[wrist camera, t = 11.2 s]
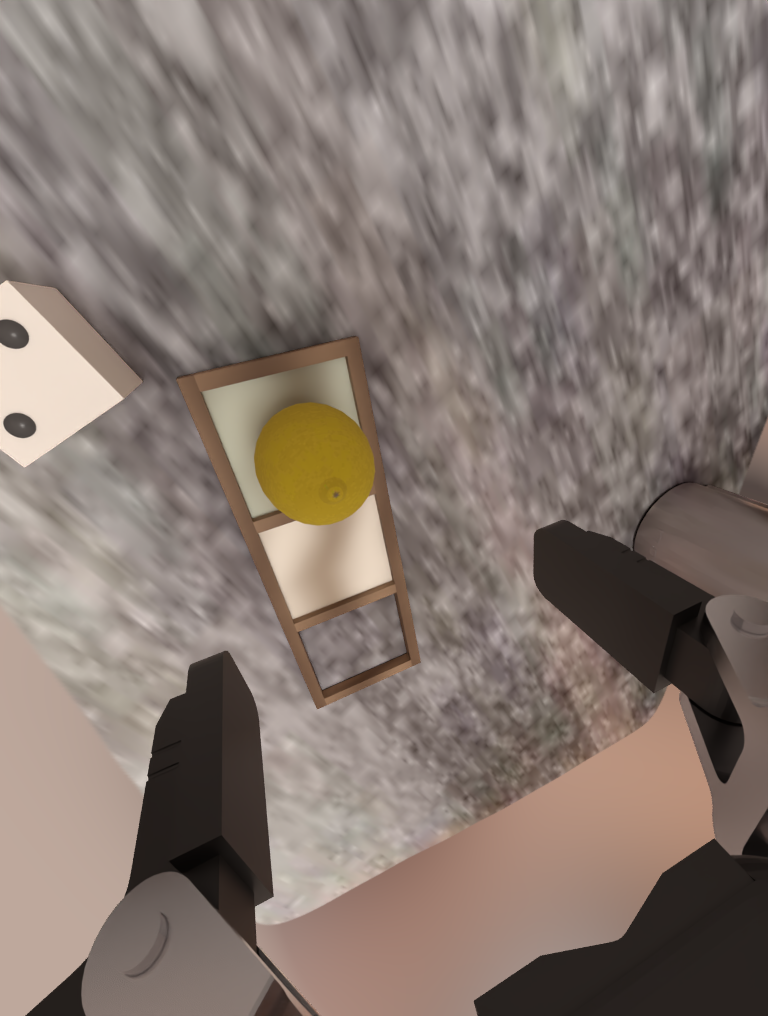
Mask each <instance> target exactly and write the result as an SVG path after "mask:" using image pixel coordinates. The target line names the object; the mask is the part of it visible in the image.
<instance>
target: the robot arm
mask: <svg viewBox="0 0 768 1016" xmlns="http://www.w3.org/2000/svg"><path fill="white" fill-rule="evenodd" d="M634 550H635V551H631V550H630V548H629V547H627V546H625V545H623V544H622V543H620V542H618V541H616V540H615V539H613V538H611V537H608V536H604V535H601V534H598V533H594V532H591V531H587V532H586V531H584V530H583V529H581V528H579V527H577V526H576V525H574V524H572V523H571V522H569V521H566V520H561V521H558V522H556V523H553V524H551V525H548V526H546V527H543V528H540V529H538V530H537V531H536V532H535V534H534V570H533V574H534V580H535V583H536V586H537V588H538V589H539V591H540V592H541V594H542V595H543V596H544V597H545V598H546V599H547V600H548V601H549V602H551V603H552V604H553V605H554V606H555V607H556V608H557V609H559V610H560V611H561V612H562V613H563V614H564V615H565V616H567V617H568V618H569V619H570V620H571V621H572V622H573V623H575V624H576V625H577V626H578V627H579V628H580V629H581V630H582V631H584V632H585V633H586V634H587V635H588V636H589V637H590V638H592V639H593V640H594V641H595V642H596V643H597V644H598V645H600V646H601V647H602V648H603V649H604V650H605V651H606V652H607V653H609V654H610V655H611V656H612V657H613V658H614V659H615V660H617V661H618V662H619V663H620V664H621V665H622V666H623V667H625V668H626V669H627V670H628V671H629V672H630V673H631V674H633V675H634V676H635V677H636V678H637V679H638V680H639V681H640V682H642V683H643V684H644V685H645V686H646V687H647V688H648V689H650V690H651V691H652V692H653V693H655V692H657V691H659V690H661V689H663V688H664V687H666V686H668V685H670V684H673V685H674V686H676V687H677V688H678V689H679V690H680V694H679V700H680V704H681V707H682V710H683V712H684V716H685V718H686V721H687V724H688V727H689V730H690V733H691V736H692V738H693V741H694V744H695V747H696V750H697V753H698V756H699V759H700V762H701V764H702V767H703V770H704V773H705V776H706V779H707V782H708V785H709V788H710V791H711V796H712V804H713V812H712V816H713V827H714V833H715V838H716V840H715V839H713V840H711V841H710V842H708V843H707V844H705V845H704V846H702V847H701V848H699V849H698V850H696V851H695V852H693V853H692V854H690V855H689V856H688V857H686V858H684V859H683V860H682V861H680V862H678V863H677V864H676V865H674V866H673V867H671V868H670V869H668V870H667V871H665V872H664V873H662V875H661V876H660V878H659V880H658V881H657V883H656V885H655V886H654V888H653V890H652V891H651V893H650V894H649V896H648V898H647V899H646V901H645V903H644V904H643V906H642V908H641V909H640V911H639V912H638V914H637V916H636V917H635V919H634V921H633V922H632V924H631V925H630V927H629V928H628V930H627V932H626V933H625V934H624V936H623V937H622V938H620V939H619V940H617V941H614V942H609V943H604V944H599V945H594V946H589V947H583V948H578V949H573V950H568V951H563V952H558V953H552V954H547V955H542V956H540V957H538V958H537V959H535V960H534V961H532V962H531V963H529V964H528V965H526V966H525V967H523V968H522V969H520V970H519V971H517V972H516V973H514V974H513V975H511V976H510V977H508V978H507V979H506V980H504V981H503V982H501V983H500V984H498V985H497V986H495V987H494V988H492V989H491V990H489V991H488V992H486V993H485V994H483V995H482V996H480V997H479V998H477V999H476V1000H474V1004H475V1008H476V1011H477V1015H478V1016H768V505H766V504H763V503H761V502H758V501H755V500H752V499H749V498H747V497H743V496H740V495H738V494H735V493H732V492H729V491H726V490H724V489H721V488H718V487H715V486H712V485H708V486H703V485H700V484H697V483H691V482H690V483H684V484H681V485H679V486H676V487H674V488H673V489H671V490H670V491H668V492H667V493H666V494H664V495H663V496H662V497H661V498H660V499H659V500H658V501H657V502H656V503H655V504H654V505H653V506H652V507H651V509H650V510H649V511H648V513H647V514H646V516H645V517H644V519H643V521H642V523H641V525H640V527H639V529H638V532H637V535H636V538H635V545H634ZM151 753H152V758H150V764H149V769H148V775H147V776H148V781H147V782H146V787H145V793H144V799H143V805H142V811H141V817H140V823H139V828H138V834H137V840H136V846H135V852H134V858H133V864H132V870H131V875H130V880H129V884H128V888H127V891H126V894H125V897H124V898H123V899H122V901H121V902H120V903H119V904H118V905H117V906H116V907H115V909H114V910H113V911H112V913H111V914H110V915H109V917H108V918H107V920H106V922H105V923H104V925H103V926H102V928H101V930H100V932H99V934H98V935H97V937H96V940H95V941H94V944H93V946H92V949H91V951H90V953H89V956H88V958H87V959H86V960H85V961H84V962H83V963H82V964H81V966H79V968H77V969H76V970H75V971H74V972H73V973H72V974H71V975H70V976H69V977H68V978H67V979H66V980H65V981H63V982H62V983H61V984H60V985H59V986H58V987H57V988H56V989H55V990H53V992H51V993H50V994H49V995H48V996H47V997H46V998H45V999H43V1000H42V1001H41V1002H40V1003H39V1004H38V1005H37V1006H36V1007H34V1008H33V1009H32V1010H31V1011H30V1012H29V1013H28V1014H27V1015H26V1016H321V1015H320V1014H319V1013H318V1012H317V1010H316V1009H315V1008H314V1007H313V1006H312V1005H311V1004H310V1003H309V1001H308V1000H307V999H306V998H305V997H304V996H303V995H302V994H301V992H299V990H298V989H297V988H296V987H295V986H294V985H293V984H292V982H291V981H290V980H289V979H288V978H287V977H286V976H285V975H284V973H283V972H282V971H281V970H280V969H279V968H278V967H277V966H276V964H275V963H274V962H273V961H272V960H271V959H270V958H269V957H268V956H267V954H266V953H265V952H264V951H263V950H262V949H261V948H260V946H259V945H258V944H257V943H256V924H255V906H257V905H259V904H261V903H263V902H264V901H266V900H268V899H270V898H272V897H274V895H273V883H272V871H271V859H270V847H269V835H268V823H267V811H266V799H265V787H264V775H263V763H262V751H261V739H260V727H259V717H258V712H257V708H256V704H255V701H254V698H253V695H252V693H251V691H250V689H249V688H248V686H247V684H246V682H245V680H244V678H243V677H242V675H241V673H240V671H239V669H238V667H237V666H236V664H235V662H234V660H233V658H232V657H231V655H230V653H229V652H228V651H223V652H221V653H218V654H216V655H213V656H211V657H208V658H206V659H203V660H200V661H198V662H195V663H193V664H191V665H190V667H189V670H188V679H187V688H186V693H185V694H182V695H180V696H177V697H175V698H172V699H170V701H169V703H168V704H167V706H166V708H165V710H164V712H163V714H162V716H161V717H160V719H159V721H158V723H157V725H156V728H155V734H154V740H153V746H152V752H151Z"/></svg>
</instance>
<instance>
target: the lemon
mask: <svg viewBox="0 0 768 1016" xmlns="http://www.w3.org/2000/svg"><path fill="white" fill-rule="evenodd" d="M254 463H255V472H256V476H257V479H258V481H259V484H260V486H261V488H262V491H263V492H264V494H265V495H266V496H267V498H268V499H269V500H270V502H271V503H272V504H273V505H274V506H275V507H276V508H277V509H278V510H279V511H281V512H282V513H284V514H285V515H286V516H288V517H289V518H291V519H293V520H296V521H298V522H301V523H304V524H309V525H316V526H320V525H330V524H333V523H336V522H339V521H342V520H344V519H346V518H347V517H349V516H351V515H352V514H354V513H355V512H356V511H357V510H358V509H359V508H360V507H361V506H362V505H363V503H364V502H365V501H366V499H367V498H368V496H369V494H370V491H371V489H372V486H373V481H374V475H375V465H374V457H373V452H372V450H371V447H370V444H369V442H368V439H367V437H366V436H365V434H364V433H363V431H362V430H361V429H360V427H359V426H358V424H357V423H356V422H355V421H354V420H353V419H351V418H350V417H349V416H347V415H346V414H345V413H344V412H342V411H340V410H338V409H336V408H333V407H331V406H329V405H326V404H320V403H313V402H308V403H299V404H295V405H292V406H289V407H287V408H284V409H282V410H281V411H280V412H278V413H277V414H275V415H274V416H272V417H271V418H270V420H269V421H268V422H267V423H266V425H265V426H264V427H263V428H262V431H261V433H260V435H259V437H258V440H257V442H256V448H255V454H254Z"/></svg>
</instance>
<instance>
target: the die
mask: <svg viewBox="0 0 768 1016" xmlns="http://www.w3.org/2000/svg"><path fill="white" fill-rule="evenodd" d="M142 382H143V381H142V380H141V379H140V378H139V377H138V375H137V374H136V373H135V372H134V371H133V370H132V369H131V368H130V367H129V366H128V365H127V364H126V363H125V362H124V360H123V359H122V358H121V357H120V356H119V355H118V354H117V353H116V352H115V351H114V350H113V349H112V348H111V347H110V346H109V344H108V343H107V342H106V341H105V340H104V339H103V338H102V337H101V336H100V335H99V334H98V333H97V332H96V331H95V329H94V328H93V327H92V326H91V325H90V324H89V323H88V322H87V321H86V320H85V319H84V318H83V317H82V316H81V314H80V313H79V312H78V311H77V310H76V309H75V308H74V307H73V306H72V305H71V304H70V303H69V302H68V301H67V299H66V298H65V297H64V296H63V295H62V294H61V293H60V292H59V291H58V290H57V289H56V288H52V287H46V286H39V285H33V284H27V283H20V282H14V281H8V280H7V281H5V282H4V283H2V284H1V285H0V449H1V450H2V451H3V452H5V453H6V454H7V455H9V456H10V457H11V458H13V459H14V460H15V461H16V462H18V463H19V464H20V465H22V466H23V467H24V468H25V467H26V466H28V465H29V464H31V463H32V462H33V461H35V460H36V459H38V458H39V457H41V456H42V455H44V454H45V453H46V452H48V451H49V450H51V449H52V448H54V447H55V446H57V445H58V444H59V443H61V442H62V441H64V440H65V439H67V438H68V437H70V436H71V435H72V434H74V433H75V432H77V431H78V430H80V429H81V428H83V427H84V426H85V425H87V424H88V423H90V422H91V421H93V420H94V419H96V418H97V417H98V416H100V415H101V414H103V413H104V412H106V411H107V410H109V409H110V408H111V407H113V406H114V405H116V404H117V403H119V402H120V401H122V400H123V399H124V398H126V397H127V396H128V395H129V394H130V393H131V392H132V391H133V390H134V389H136V388H137V387H138V386H139V385H140V384H141V383H142Z"/></svg>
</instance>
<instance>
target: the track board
mask: <svg viewBox="0 0 768 1016" xmlns="http://www.w3.org/2000/svg"><path fill="white" fill-rule="evenodd" d="M176 381H177V383H178V385H179V388H180V390H181V392H182V395H183V397H184V399H185V402H186V404H187V406H188V409H189V411H190V413H191V416H192V418H193V420H194V423H195V425H196V427H197V430H198V432H199V434H200V437H201V439H202V441H203V444H204V446H205V448H206V451H207V453H208V455H209V458H210V460H211V462H212V465H213V467H214V469H215V472H216V474H217V476H218V479H219V481H220V483H221V486H222V488H223V490H224V493H225V495H226V497H227V500H228V502H229V504H230V507H231V509H232V511H233V514H234V516H235V518H236V521H237V523H238V525H239V528H240V530H241V532H242V535H243V537H244V539H245V542H246V544H247V546H248V549H249V551H250V553H251V556H252V558H253V560H254V563H255V565H256V567H257V570H258V572H259V574H260V577H261V579H262V582H263V584H264V586H265V589H266V591H267V593H268V596H269V598H270V600H271V603H272V605H273V607H274V610H275V612H276V614H277V617H278V619H279V621H280V624H281V626H282V628H283V631H284V633H285V635H286V638H287V640H288V642H289V645H290V647H291V649H292V652H293V654H294V656H295V659H296V661H297V663H298V666H299V668H300V670H301V673H302V675H303V677H304V680H305V682H306V684H307V687H308V689H309V691H310V694H311V696H312V698H313V701H314V703H315V705H316V708H317V709H319V708H321V707H324V706H326V705H328V704H330V703H332V702H335V701H337V700H339V699H341V698H343V697H346V696H348V695H350V694H352V693H354V692H357V691H359V690H361V689H363V688H365V687H368V686H370V685H372V684H374V683H376V682H379V681H381V680H383V679H385V678H387V677H390V676H392V675H394V674H396V673H398V672H401V671H403V670H405V669H407V668H409V667H412V666H414V665H416V664H418V663H420V662H421V661H420V656H419V651H418V646H417V641H416V635H415V630H414V625H413V620H412V614H411V609H410V604H409V599H408V594H407V588H406V583H405V578H404V573H403V568H402V562H401V557H400V552H399V547H398V542H397V536H396V531H395V526H394V521H393V515H392V510H391V505H390V500H389V495H388V489H387V484H386V479H385V474H384V469H383V463H382V458H381V453H380V448H379V443H378V437H377V432H376V427H375V422H374V416H373V411H372V406H371V401H370V396H369V390H368V385H367V380H366V375H365V370H364V364H363V359H362V354H361V349H360V343H359V338H358V337H356V336H353V337H348V338H344V339H340V340H335V341H331V342H327V343H322V344H318V345H314V346H310V347H305V348H301V349H297V350H292V351H288V352H284V353H280V354H275V355H271V356H267V357H262V358H258V359H254V360H250V361H245V362H241V363H237V364H232V365H228V366H224V367H220V368H215V369H211V370H207V371H202V372H198V373H194V374H190V375H185V376H181V377H177V379H176ZM308 402H313V403H320V404H326V405H329V406H331V407H333V408H336V409H338V410H340V411H342V412H344V413H345V414H346V415H347V416H349V417H350V418H351V419H353V420H354V421H355V422H356V423H357V424H358V426H359V427H360V429H361V430H362V431H363V433H364V434H365V436H366V437H367V439H368V442H369V444H370V447H371V450H372V452H373V457H374V465H375V475H374V481H373V486H372V489H371V491H370V494H369V496H368V498H367V499H366V501H365V502H364V503H363V505H362V506H361V507H360V508H359V509H358V510H357V511H356V512H355V513H354V514H352V515H351V516H349V517H347V518H346V519H344V520H342V521H339V522H336V523H333V524H330V525H320V526H316V525H309V524H304V523H301V522H298V521H296V520H293V519H291V518H289V517H288V516H286V515H285V514H284V513H282V512H281V511H279V510H278V509H277V508H276V507H275V506H274V505H273V504H272V503H271V502H270V500H269V499H268V498H267V496H266V495H265V494H264V492H263V491H262V488H261V486H260V484H259V481H258V479H257V476H256V472H255V463H254V454H255V448H256V442H257V440H258V437H259V435H260V433H261V431H262V428H263V427H264V426H265V425H266V423H267V422H268V421H269V420H270V418H271V417H272V416H274V415H275V414H277V413H278V412H280V411H281V410H282V409H284V408H287V407H289V406H292V405H295V404H299V403H308ZM391 594H395V599H396V604H397V608H398V613H399V618H400V622H401V627H402V632H403V636H404V641H405V646H406V650H407V653H406V654H404V655H402V656H399V657H397V658H395V659H393V660H390V661H388V662H386V663H384V664H381V665H379V666H377V667H375V668H372V669H370V670H368V671H366V672H363V673H361V674H359V675H357V676H354V677H352V678H350V679H348V680H345V681H343V682H341V683H339V684H336V685H334V686H332V687H330V688H327V689H325V690H323V691H322V689H321V687H320V684H319V682H318V679H317V677H316V674H315V672H314V669H313V667H312V665H311V662H310V660H309V657H308V655H307V652H306V650H305V647H304V645H303V642H302V640H301V637H300V635H299V631H302V630H304V629H307V628H309V627H312V626H314V625H317V624H319V623H322V622H324V621H327V620H329V619H332V618H334V617H337V616H339V615H342V614H344V613H347V612H349V611H352V610H354V609H357V608H359V607H362V606H364V605H366V604H369V603H371V602H374V601H376V600H379V599H381V598H384V597H386V596H389V595H391Z"/></svg>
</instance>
